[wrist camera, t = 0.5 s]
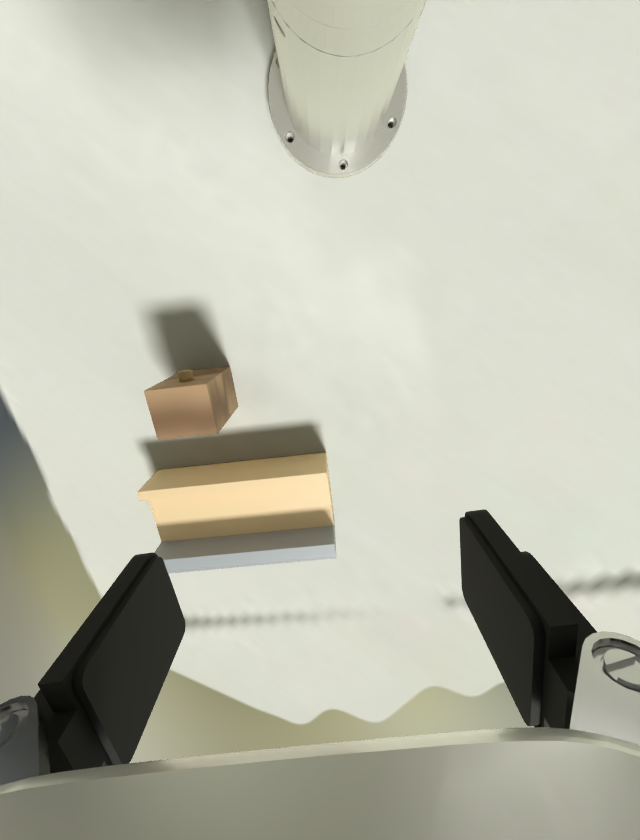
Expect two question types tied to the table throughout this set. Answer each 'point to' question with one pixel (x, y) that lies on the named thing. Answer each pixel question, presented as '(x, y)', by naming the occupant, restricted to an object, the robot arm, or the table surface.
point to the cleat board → (243, 513)
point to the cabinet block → (192, 402)
